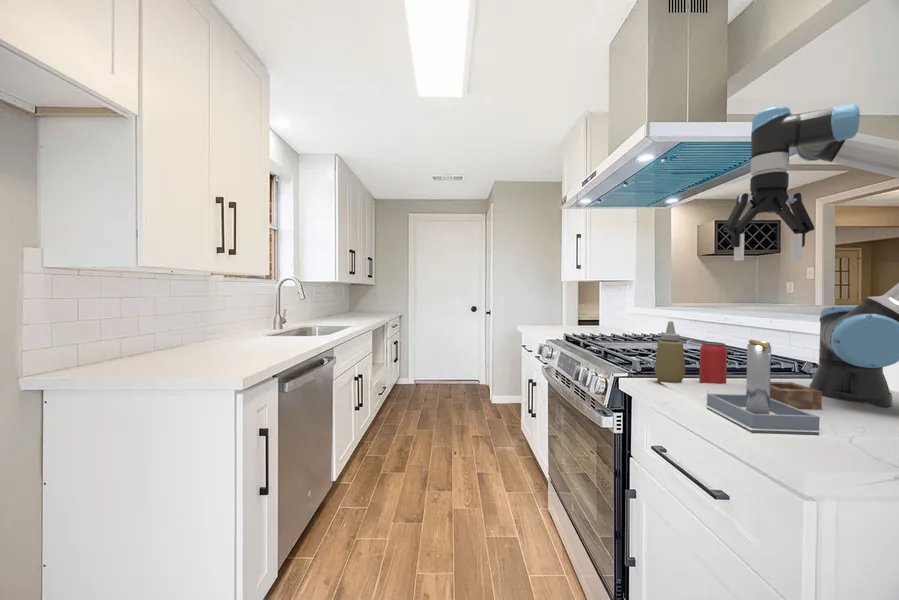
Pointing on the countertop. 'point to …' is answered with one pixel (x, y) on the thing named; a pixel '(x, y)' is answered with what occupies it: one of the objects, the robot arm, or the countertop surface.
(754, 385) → the steel pin
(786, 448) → the countertop surface
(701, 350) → the beer can
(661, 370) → the squeeze bottle
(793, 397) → the block
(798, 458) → the countertop surface
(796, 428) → the tray
